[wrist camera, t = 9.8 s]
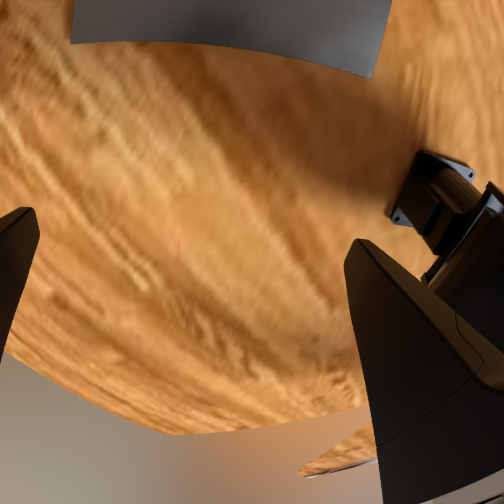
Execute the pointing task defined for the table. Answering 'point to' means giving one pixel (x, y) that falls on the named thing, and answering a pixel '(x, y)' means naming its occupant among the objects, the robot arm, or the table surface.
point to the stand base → (246, 26)
